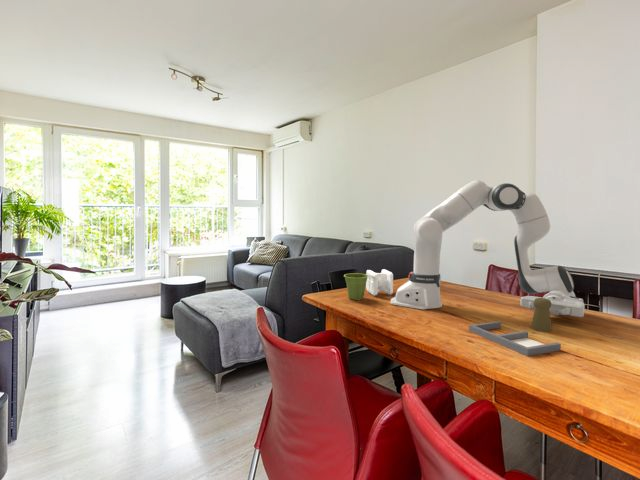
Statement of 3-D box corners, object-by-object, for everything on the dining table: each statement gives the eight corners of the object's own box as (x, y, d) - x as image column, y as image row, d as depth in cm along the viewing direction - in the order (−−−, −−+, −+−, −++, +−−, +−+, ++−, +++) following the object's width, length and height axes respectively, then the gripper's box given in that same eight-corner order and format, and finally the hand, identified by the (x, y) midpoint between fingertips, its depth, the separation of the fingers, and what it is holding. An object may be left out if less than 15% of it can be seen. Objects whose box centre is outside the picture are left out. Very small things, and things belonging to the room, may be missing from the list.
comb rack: (498, 326, 123) (498, 321, 123) (560, 350, 101) (560, 343, 101) (468, 330, 118) (469, 325, 118) (527, 356, 97) (527, 349, 97)
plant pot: (339, 297, 167) (339, 274, 166) (360, 294, 172) (360, 272, 171) (351, 302, 156) (351, 278, 156) (373, 299, 161) (373, 276, 161)
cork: (527, 326, 123) (528, 296, 122) (542, 326, 124) (544, 296, 123) (539, 332, 117) (540, 300, 116) (555, 331, 118) (557, 300, 117)
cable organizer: (393, 296, 168) (394, 273, 167) (373, 297, 167) (373, 273, 166) (384, 290, 183) (384, 268, 182) (364, 290, 181) (365, 269, 181)
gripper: (526, 290, 141) (515, 295, 131) (588, 299, 126) (580, 306, 116) (525, 305, 141) (514, 311, 132) (587, 316, 126) (579, 324, 117)
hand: (546, 309), depth 124 cm, fingers open, 8 cm apart
